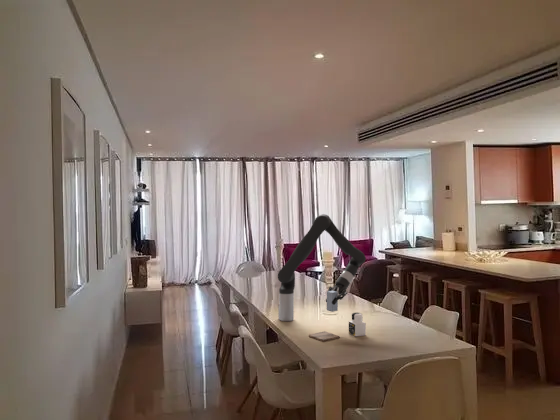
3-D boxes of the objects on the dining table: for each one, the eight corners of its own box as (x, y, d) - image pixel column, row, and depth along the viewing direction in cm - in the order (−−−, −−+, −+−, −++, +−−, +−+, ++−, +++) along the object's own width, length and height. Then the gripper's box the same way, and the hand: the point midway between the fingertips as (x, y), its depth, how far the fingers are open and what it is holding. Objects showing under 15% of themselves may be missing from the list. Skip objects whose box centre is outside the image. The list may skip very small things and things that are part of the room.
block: (326, 310, 263) (326, 291, 263) (332, 309, 266) (332, 290, 266) (332, 311, 260) (332, 292, 260) (337, 310, 263) (337, 291, 262)
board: (308, 336, 252) (308, 334, 252) (324, 332, 259) (324, 331, 259) (323, 341, 243) (323, 339, 243) (339, 337, 250) (339, 336, 250)
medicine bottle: (348, 333, 259) (348, 312, 259) (359, 332, 261) (359, 311, 261) (354, 336, 252) (354, 315, 252) (365, 335, 255) (365, 314, 255)
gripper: (333, 274, 273) (318, 297, 266) (350, 277, 262) (335, 301, 254) (339, 282, 276) (324, 304, 269) (356, 286, 265) (341, 309, 258)
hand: (329, 302), depth 262 cm, fingers closed on block, 4 cm apart
